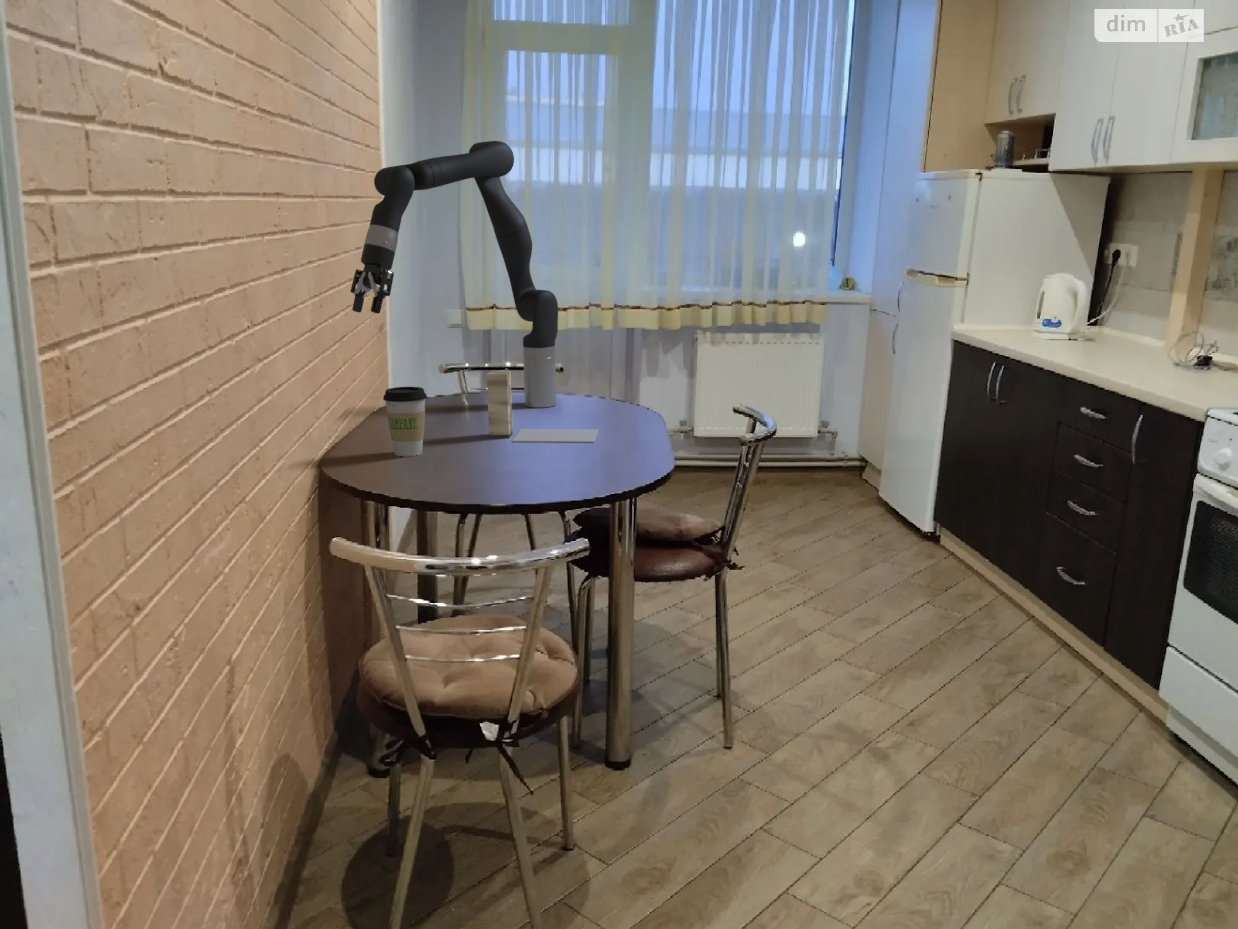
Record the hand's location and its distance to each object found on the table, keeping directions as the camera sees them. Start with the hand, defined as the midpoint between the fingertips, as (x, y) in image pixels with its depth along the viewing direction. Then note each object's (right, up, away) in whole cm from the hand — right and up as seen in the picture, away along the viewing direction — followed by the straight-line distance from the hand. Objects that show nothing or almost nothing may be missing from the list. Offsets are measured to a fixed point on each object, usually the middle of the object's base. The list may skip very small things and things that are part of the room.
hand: (365, 312), depth 237 cm
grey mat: (+46, -30, +6) cm, 55 cm away
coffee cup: (+13, -35, -11) cm, 39 cm away
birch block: (+32, -30, +7) cm, 44 cm away
